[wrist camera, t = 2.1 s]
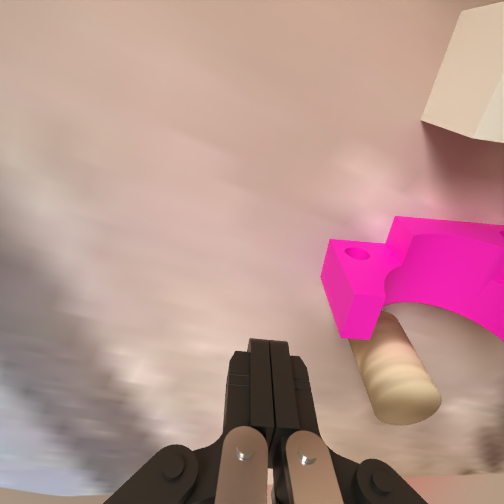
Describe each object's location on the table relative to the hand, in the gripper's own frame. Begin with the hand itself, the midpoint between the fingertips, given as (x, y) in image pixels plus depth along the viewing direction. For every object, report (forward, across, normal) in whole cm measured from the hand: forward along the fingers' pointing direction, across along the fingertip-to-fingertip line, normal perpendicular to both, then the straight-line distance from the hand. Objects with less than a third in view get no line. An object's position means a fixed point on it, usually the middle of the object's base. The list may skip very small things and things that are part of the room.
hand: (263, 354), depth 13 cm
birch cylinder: (+14, -13, +11) cm, 22 cm away
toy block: (+15, -14, +2) cm, 20 cm away
